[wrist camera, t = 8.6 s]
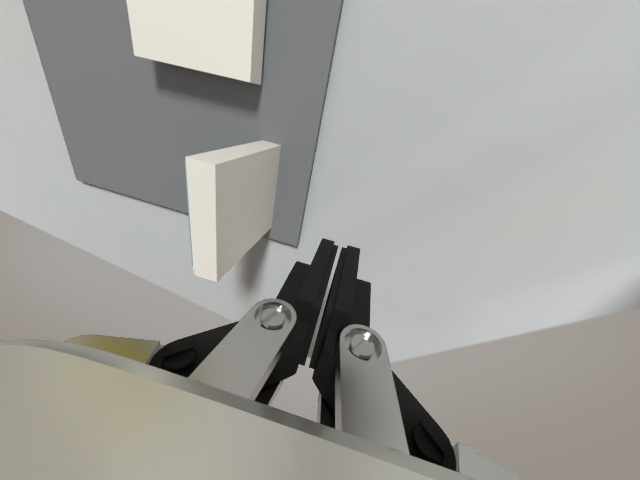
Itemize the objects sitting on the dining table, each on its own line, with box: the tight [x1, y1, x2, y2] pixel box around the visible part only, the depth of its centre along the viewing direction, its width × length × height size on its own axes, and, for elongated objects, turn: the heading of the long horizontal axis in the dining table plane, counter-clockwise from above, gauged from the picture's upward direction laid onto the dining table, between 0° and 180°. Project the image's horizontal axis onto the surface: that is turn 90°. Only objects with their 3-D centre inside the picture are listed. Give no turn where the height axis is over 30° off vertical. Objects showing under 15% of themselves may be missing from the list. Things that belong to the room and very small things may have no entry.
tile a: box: [126, 0, 267, 85], centre depth 12 cm, size 2×6×7 cm
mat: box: [23, 0, 343, 247], centre depth 16 cm, size 20×16×1 cm
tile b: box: [185, 140, 281, 282], centre depth 14 cm, size 2×6×7 cm, turn 168°
